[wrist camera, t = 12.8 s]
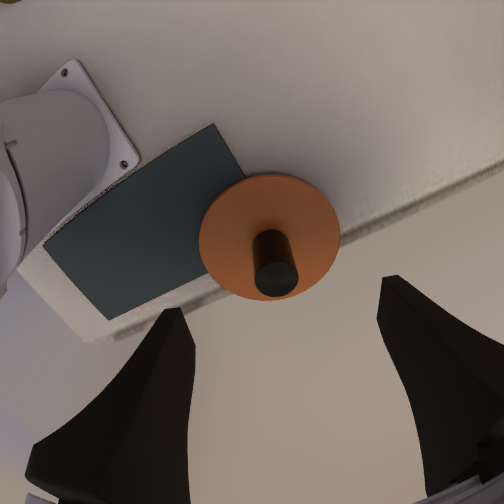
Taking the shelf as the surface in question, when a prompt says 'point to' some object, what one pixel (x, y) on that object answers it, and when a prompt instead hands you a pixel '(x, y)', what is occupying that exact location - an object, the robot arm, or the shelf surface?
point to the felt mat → (146, 227)
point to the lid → (269, 237)
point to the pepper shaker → (9, 1)
